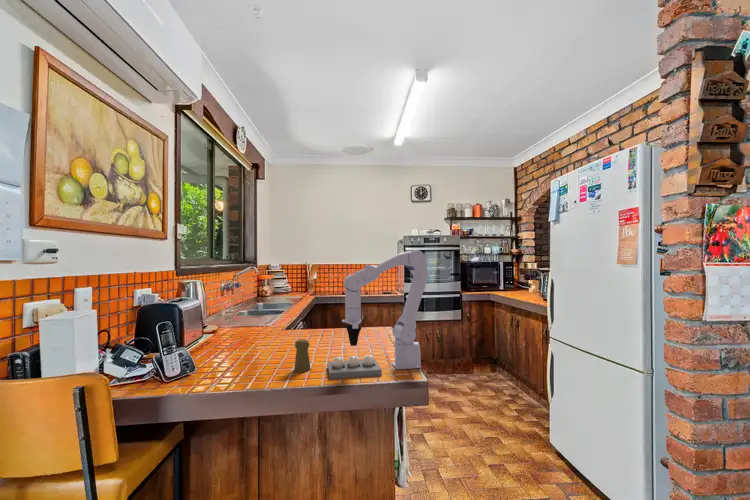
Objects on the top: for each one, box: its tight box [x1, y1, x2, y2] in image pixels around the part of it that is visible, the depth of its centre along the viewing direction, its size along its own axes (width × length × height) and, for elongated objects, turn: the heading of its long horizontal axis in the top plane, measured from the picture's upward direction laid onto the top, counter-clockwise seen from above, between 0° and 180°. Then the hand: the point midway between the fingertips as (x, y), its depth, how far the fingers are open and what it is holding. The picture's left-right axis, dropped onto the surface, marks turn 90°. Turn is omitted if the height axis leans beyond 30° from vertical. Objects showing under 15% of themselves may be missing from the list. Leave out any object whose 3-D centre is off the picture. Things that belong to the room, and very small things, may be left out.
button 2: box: [347, 355, 360, 367], centre depth 134 cm, size 4×4×3 cm
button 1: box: [362, 354, 375, 366], centre depth 135 cm, size 4×4×3 cm
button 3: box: [332, 356, 345, 368], centre depth 133 cm, size 4×4×3 cm
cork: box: [293, 338, 312, 373], centre depth 137 cm, size 6×6×11 cm
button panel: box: [327, 358, 383, 380], centre depth 134 cm, size 18×14×2 cm
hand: (353, 345), depth 134 cm, fingers closed
